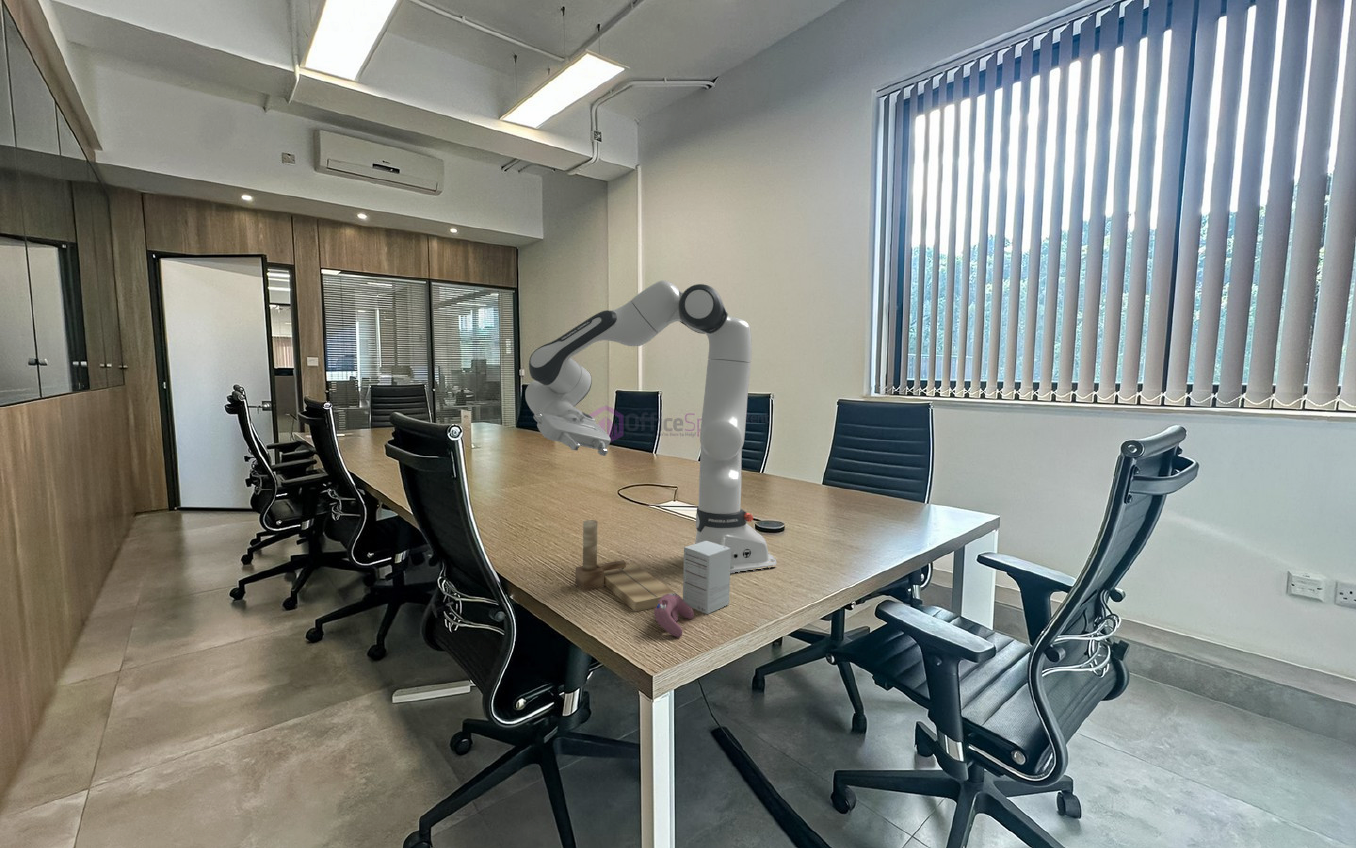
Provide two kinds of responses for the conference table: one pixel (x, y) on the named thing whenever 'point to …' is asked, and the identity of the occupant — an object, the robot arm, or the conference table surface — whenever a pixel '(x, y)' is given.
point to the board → (635, 587)
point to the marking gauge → (592, 561)
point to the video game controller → (672, 613)
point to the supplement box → (706, 576)
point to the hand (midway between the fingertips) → (591, 450)
